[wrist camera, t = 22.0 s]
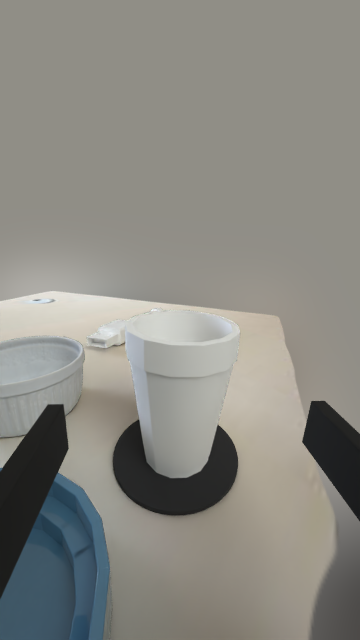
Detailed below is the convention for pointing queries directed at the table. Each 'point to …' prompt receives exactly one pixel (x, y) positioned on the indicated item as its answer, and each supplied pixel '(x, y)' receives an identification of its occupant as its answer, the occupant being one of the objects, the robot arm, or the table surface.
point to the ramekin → (37, 379)
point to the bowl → (60, 573)
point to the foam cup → (180, 384)
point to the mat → (174, 492)
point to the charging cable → (110, 333)
